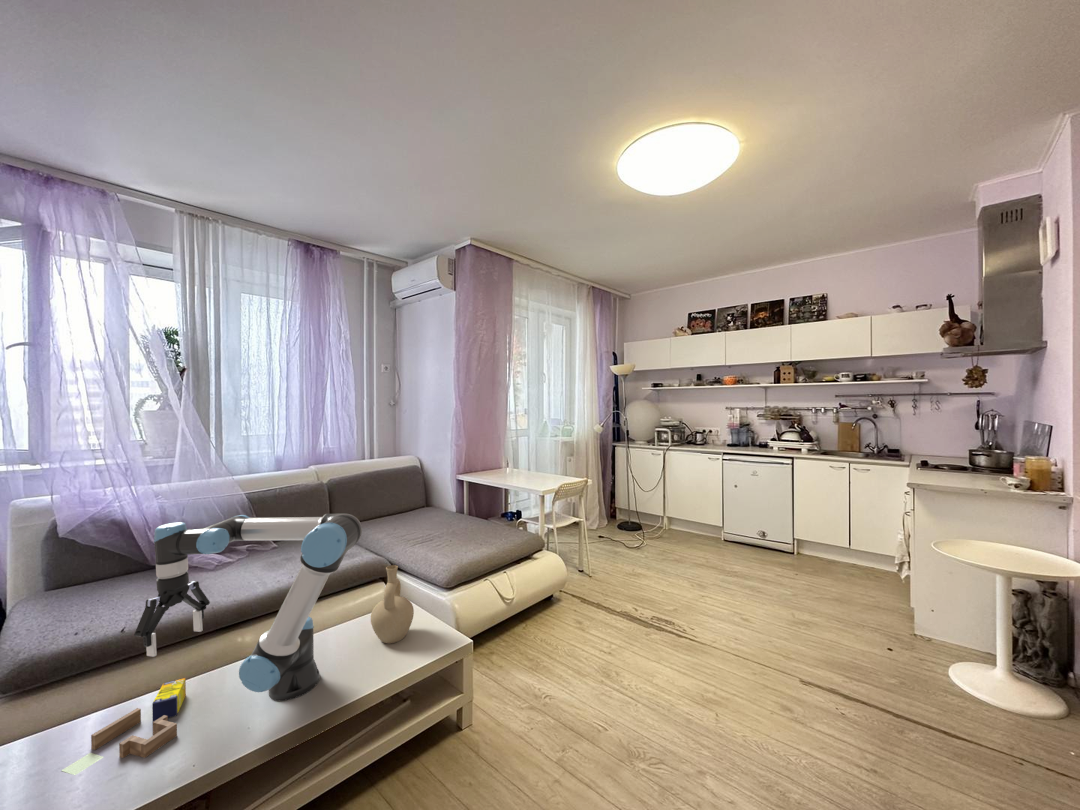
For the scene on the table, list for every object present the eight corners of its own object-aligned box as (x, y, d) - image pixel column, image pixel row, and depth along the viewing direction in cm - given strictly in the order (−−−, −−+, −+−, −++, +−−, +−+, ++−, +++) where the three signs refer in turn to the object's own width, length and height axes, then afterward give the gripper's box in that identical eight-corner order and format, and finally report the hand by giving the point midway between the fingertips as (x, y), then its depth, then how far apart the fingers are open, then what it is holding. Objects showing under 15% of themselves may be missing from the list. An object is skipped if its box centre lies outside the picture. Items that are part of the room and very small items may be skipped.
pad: (114, 760, 116) (114, 760, 116) (86, 779, 110) (86, 779, 110) (90, 753, 119) (90, 752, 119) (61, 770, 113) (61, 770, 113)
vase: (377, 630, 181) (376, 560, 181) (417, 628, 183) (416, 558, 183) (365, 653, 165) (364, 576, 165) (409, 650, 166) (408, 574, 166)
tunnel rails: (182, 733, 125) (182, 719, 125) (138, 763, 115) (138, 749, 115) (137, 720, 131) (137, 707, 130) (91, 749, 120) (91, 734, 120)
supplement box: (152, 703, 130) (162, 682, 139) (152, 722, 130) (163, 701, 139) (177, 696, 133) (186, 677, 142) (177, 715, 133) (186, 695, 142)
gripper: (202, 559, 144) (206, 621, 144) (115, 591, 120) (119, 666, 120) (220, 559, 143) (224, 622, 143) (135, 592, 118) (139, 668, 118)
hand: (176, 642), depth 131 cm, fingers open, 13 cm apart
